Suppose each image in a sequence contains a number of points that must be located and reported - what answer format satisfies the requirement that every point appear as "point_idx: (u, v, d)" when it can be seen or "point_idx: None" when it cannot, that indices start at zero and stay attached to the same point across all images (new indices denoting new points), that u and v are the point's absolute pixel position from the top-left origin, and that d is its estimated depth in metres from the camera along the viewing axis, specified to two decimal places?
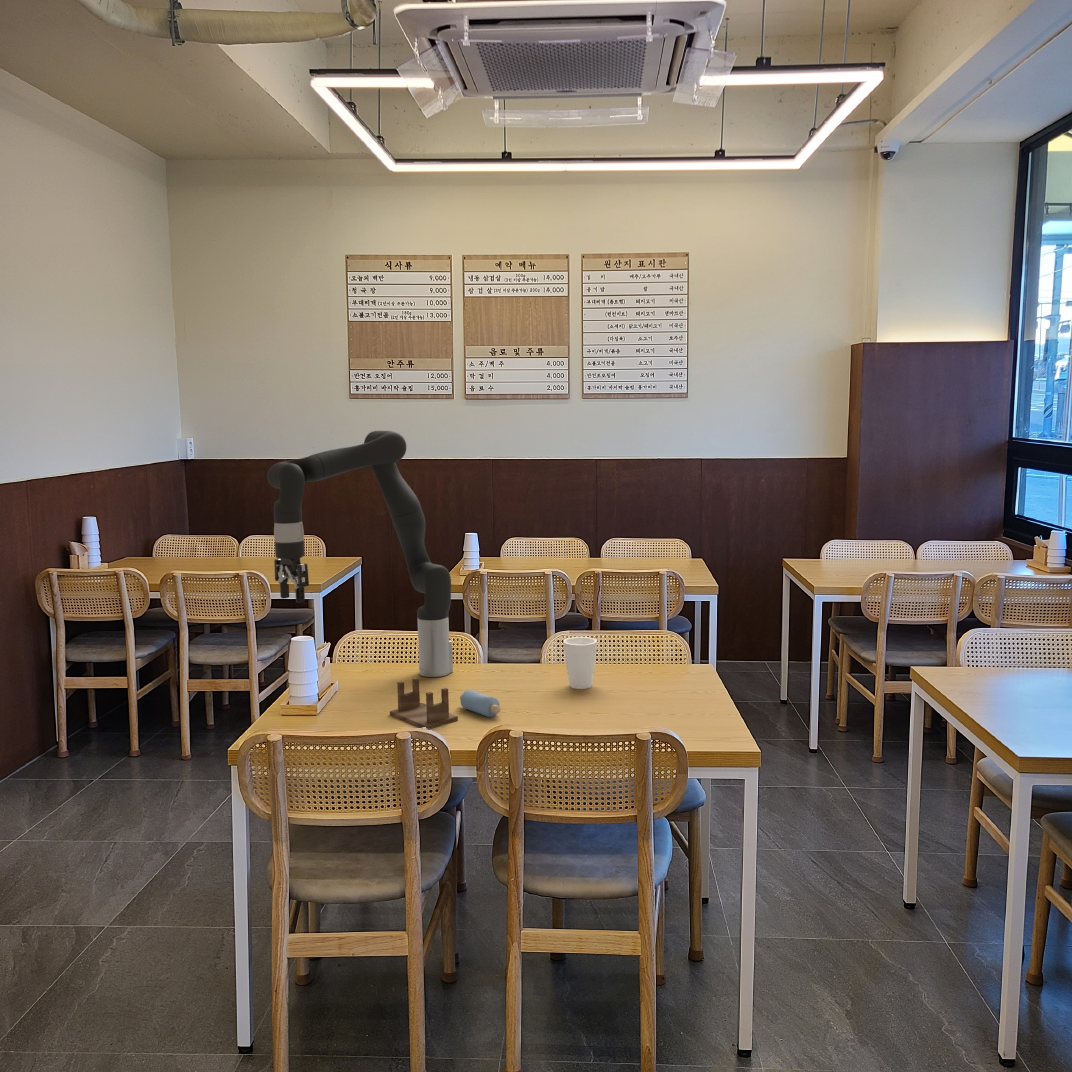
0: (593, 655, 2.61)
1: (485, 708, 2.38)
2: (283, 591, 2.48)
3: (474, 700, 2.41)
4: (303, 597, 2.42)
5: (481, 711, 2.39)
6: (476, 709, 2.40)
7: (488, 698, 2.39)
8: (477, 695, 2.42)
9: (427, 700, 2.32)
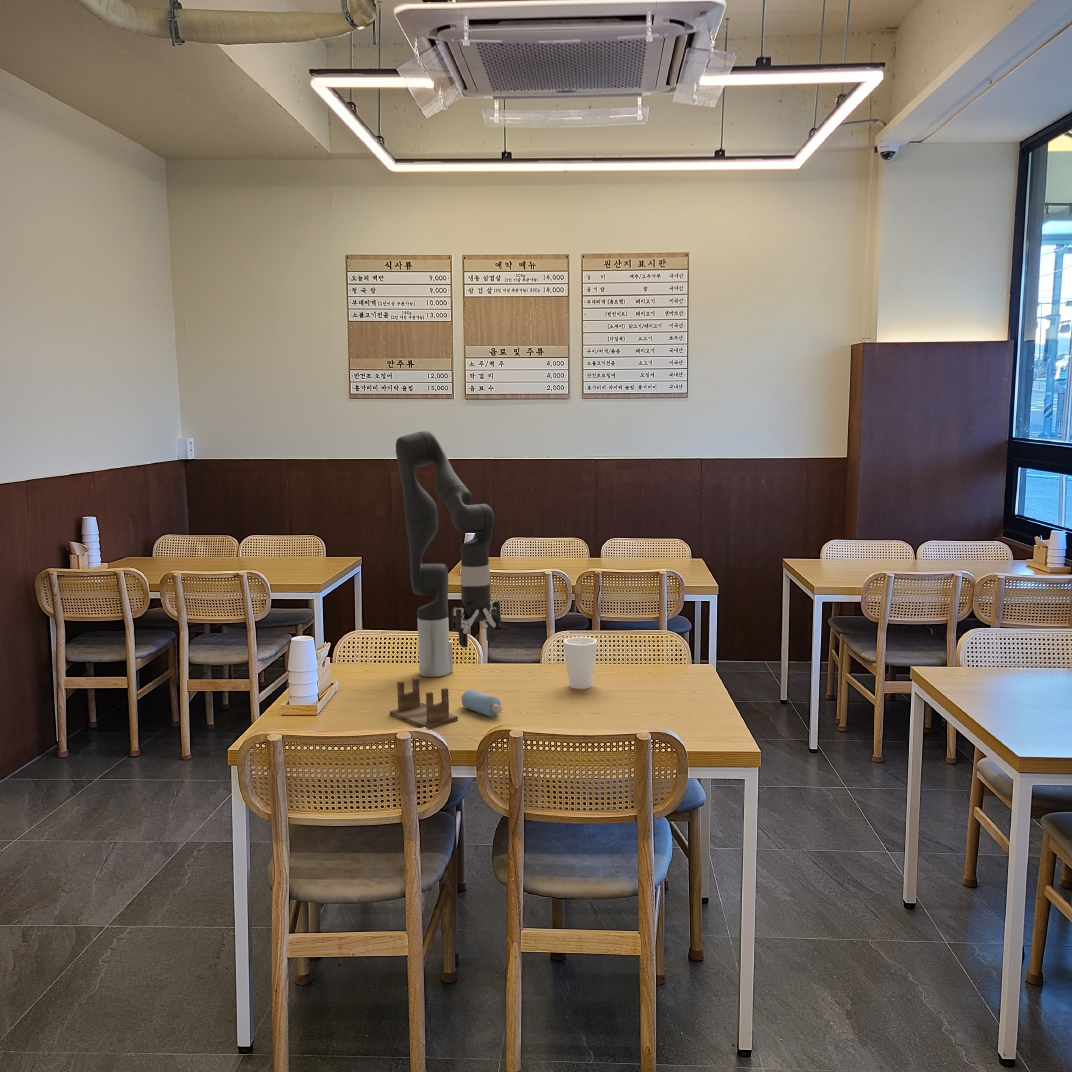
0: (593, 655, 2.61)
1: (486, 706, 2.38)
2: None
3: (476, 698, 2.41)
4: None
5: (482, 709, 2.39)
6: (477, 707, 2.40)
7: (491, 697, 2.40)
8: (479, 694, 2.42)
9: (427, 700, 2.32)
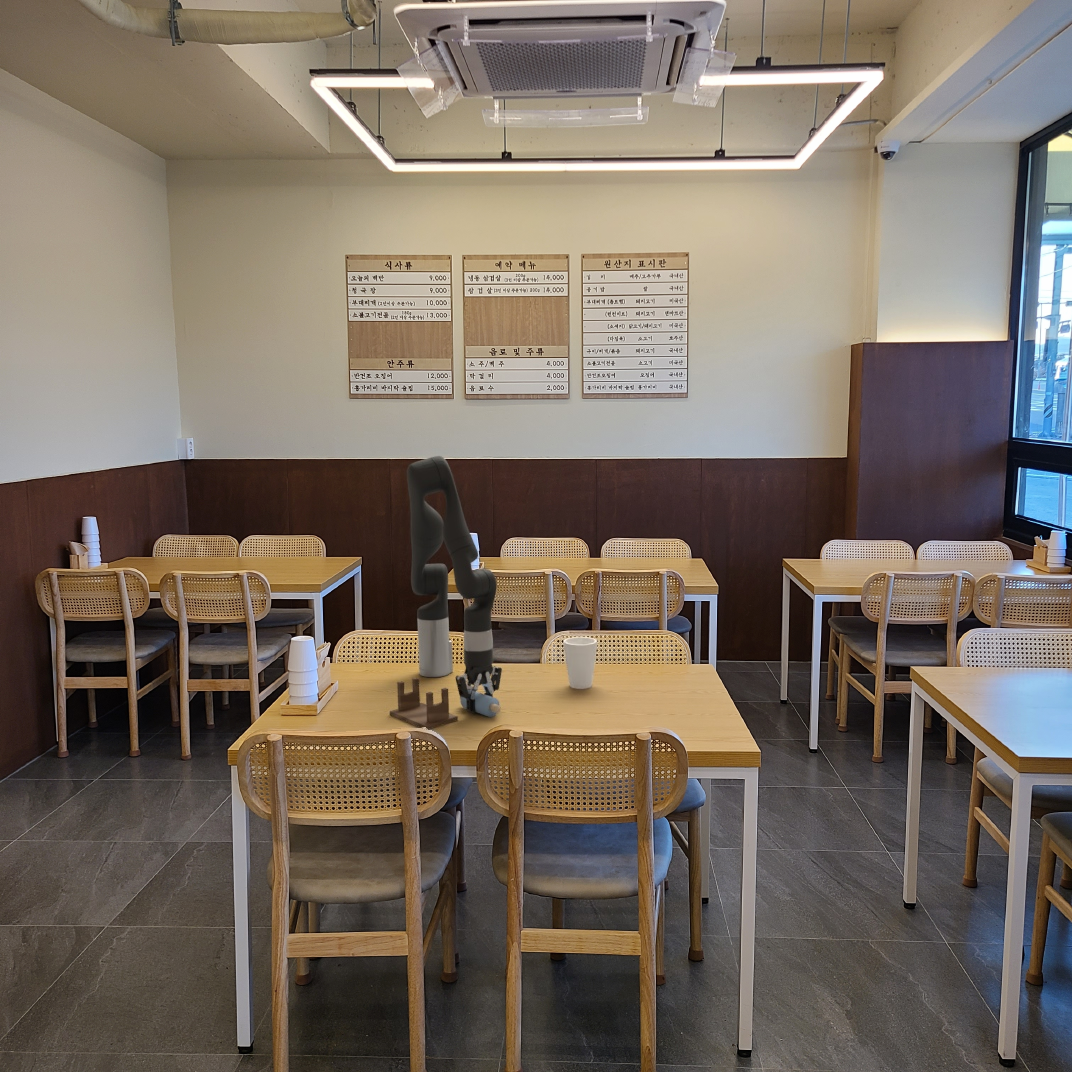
0: (593, 655, 2.61)
1: (485, 707, 2.38)
2: None
3: None
4: None
5: (481, 710, 2.39)
6: (476, 709, 2.40)
7: (488, 697, 2.39)
8: (477, 695, 2.42)
9: (427, 700, 2.32)
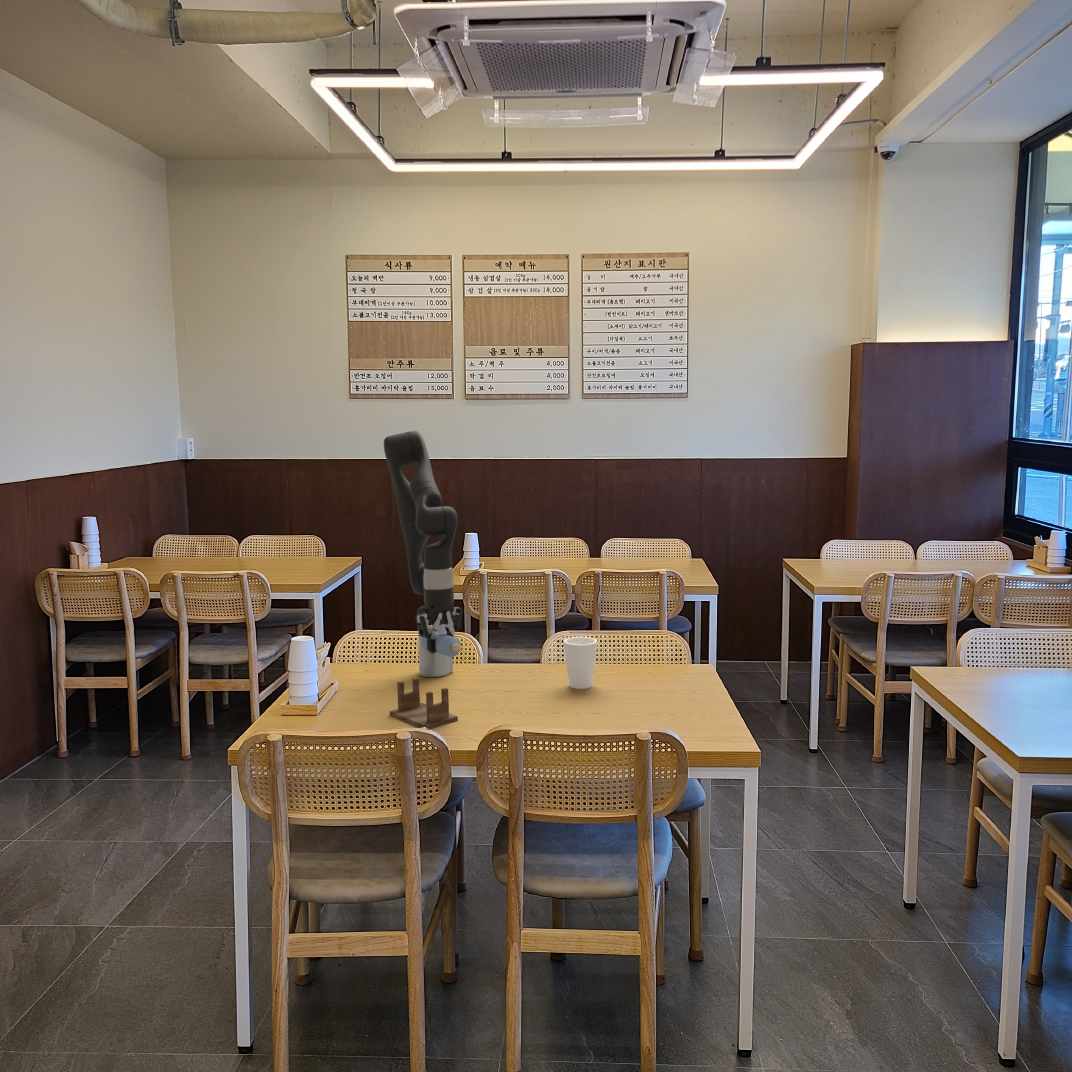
0: (593, 655, 2.61)
1: (446, 646, 2.33)
2: None
3: (435, 639, 2.36)
4: None
5: (441, 650, 2.34)
6: (437, 649, 2.35)
7: (449, 637, 2.35)
8: (438, 635, 2.37)
9: (427, 700, 2.32)
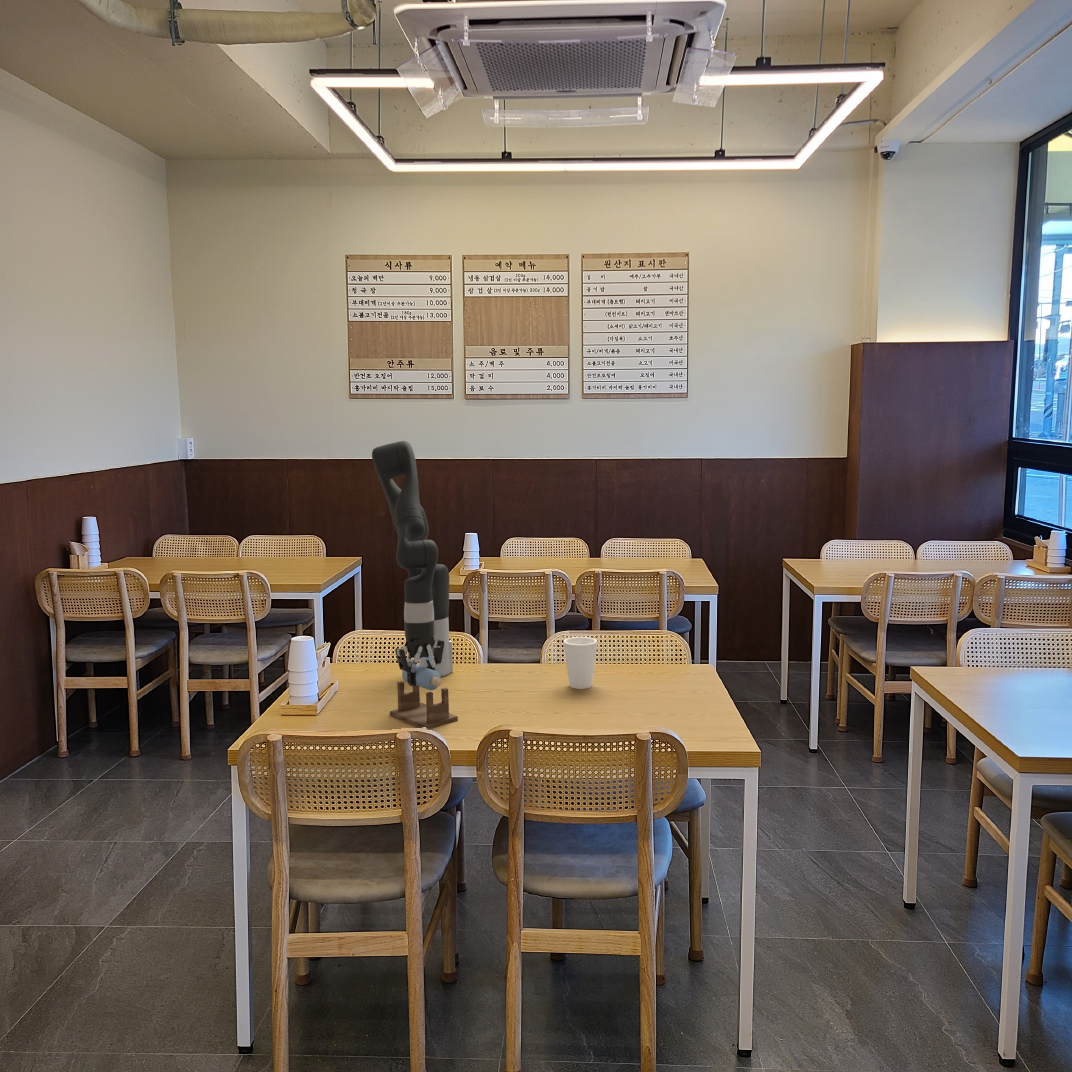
0: (593, 655, 2.61)
1: (425, 680, 2.33)
2: None
3: None
4: None
5: (421, 683, 2.34)
6: (417, 682, 2.35)
7: (429, 670, 2.34)
8: (418, 668, 2.37)
9: (427, 700, 2.32)
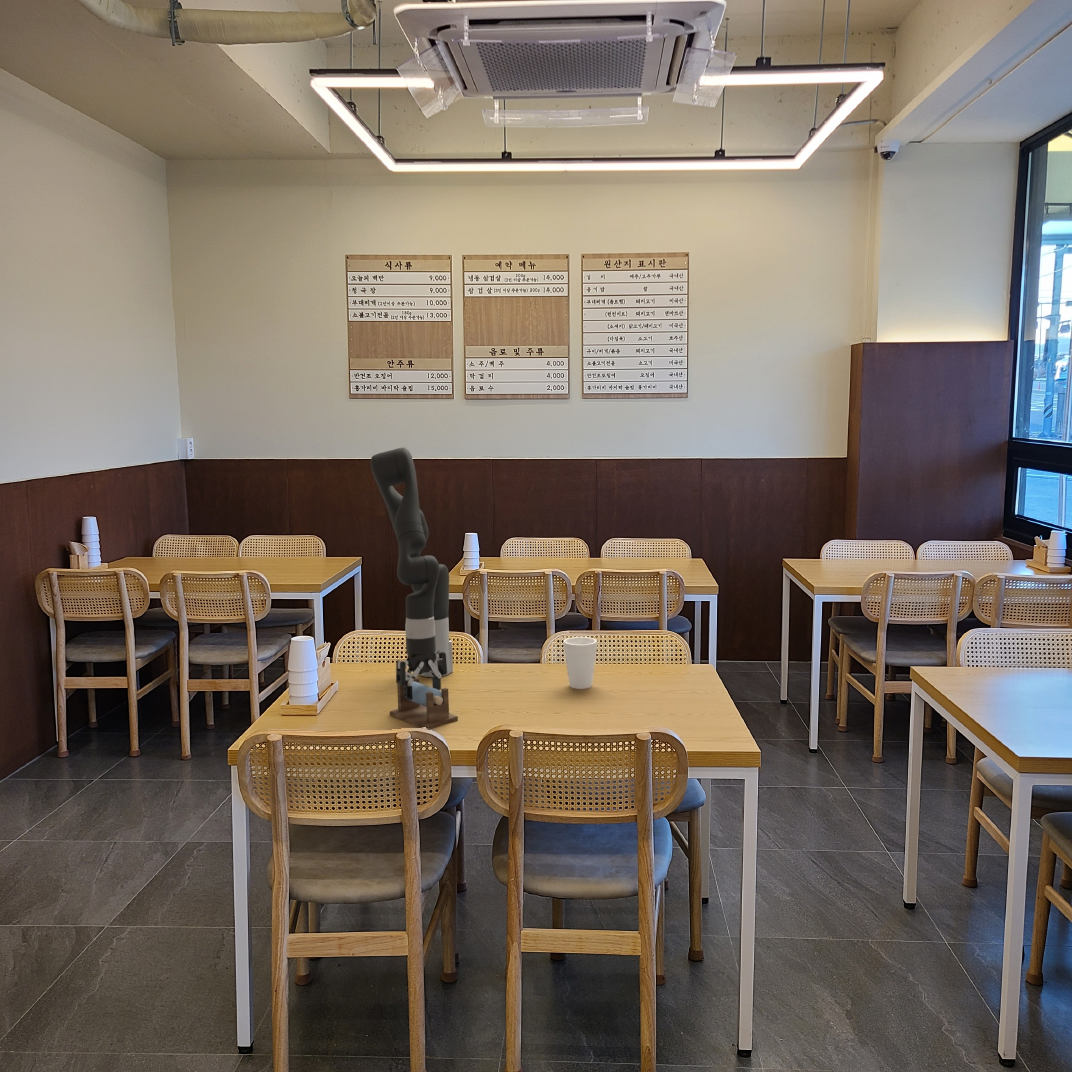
0: (593, 655, 2.61)
1: None
2: None
3: (417, 691, 2.37)
4: None
5: (423, 702, 2.35)
6: (419, 700, 2.36)
7: (431, 689, 2.35)
8: (420, 686, 2.38)
9: (427, 700, 2.32)
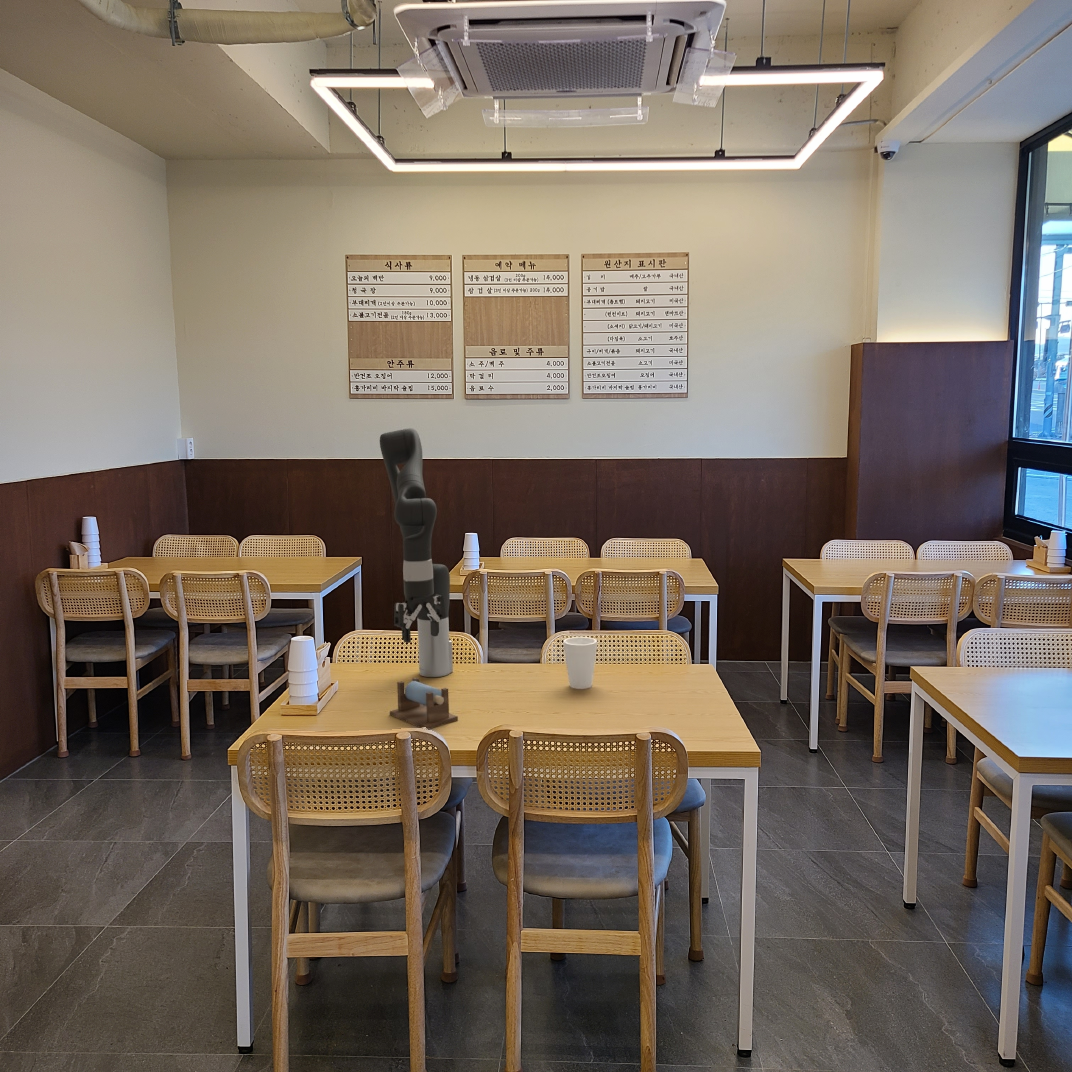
0: (593, 655, 2.61)
1: None
2: None
3: (420, 688, 2.38)
4: None
5: (424, 698, 2.35)
6: (420, 697, 2.36)
7: (435, 688, 2.36)
8: (424, 685, 2.39)
9: (427, 700, 2.32)
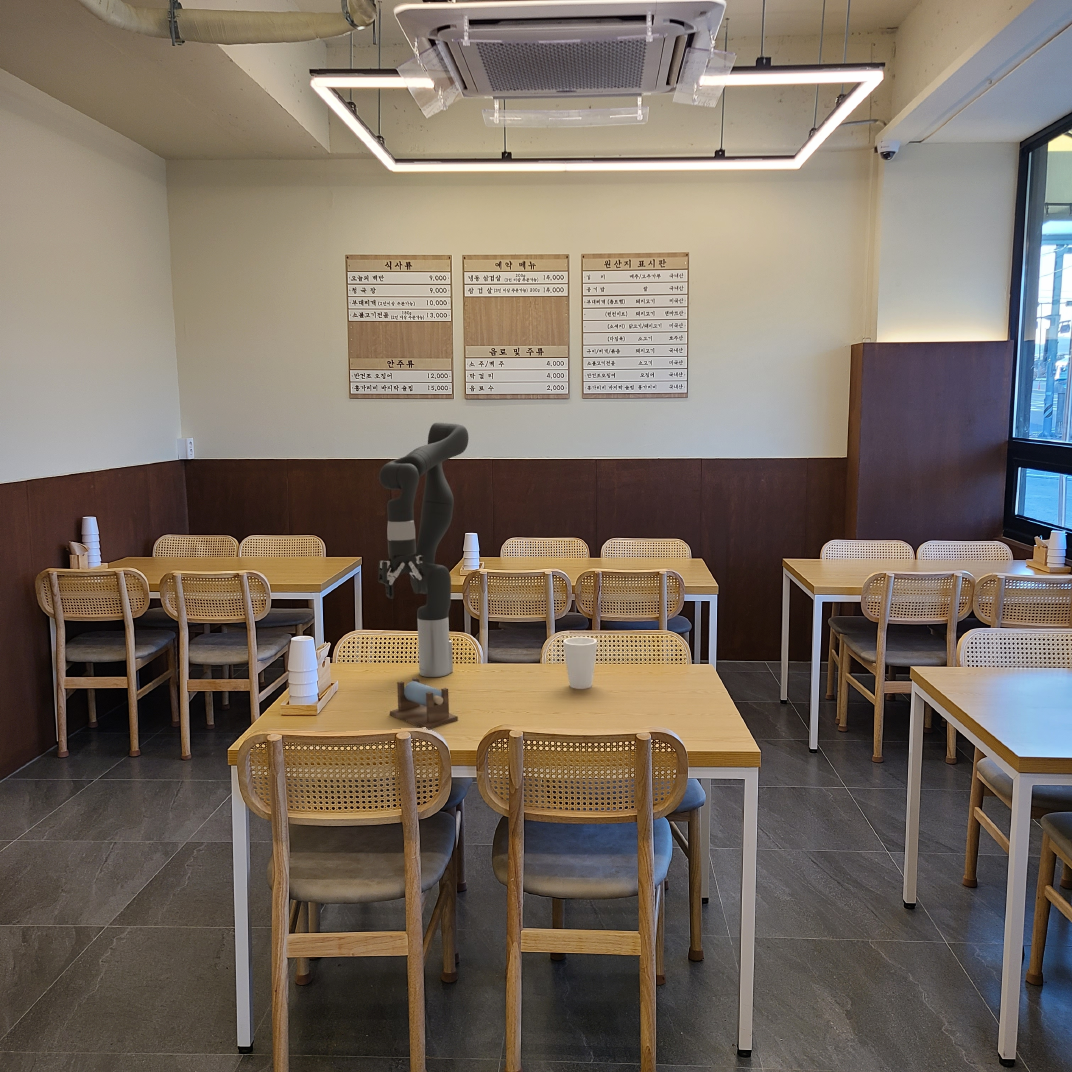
0: (593, 655, 2.61)
1: None
2: None
3: (418, 689, 2.37)
4: None
5: (423, 700, 2.35)
6: (419, 699, 2.36)
7: (432, 688, 2.36)
8: (422, 686, 2.38)
9: (427, 700, 2.32)
